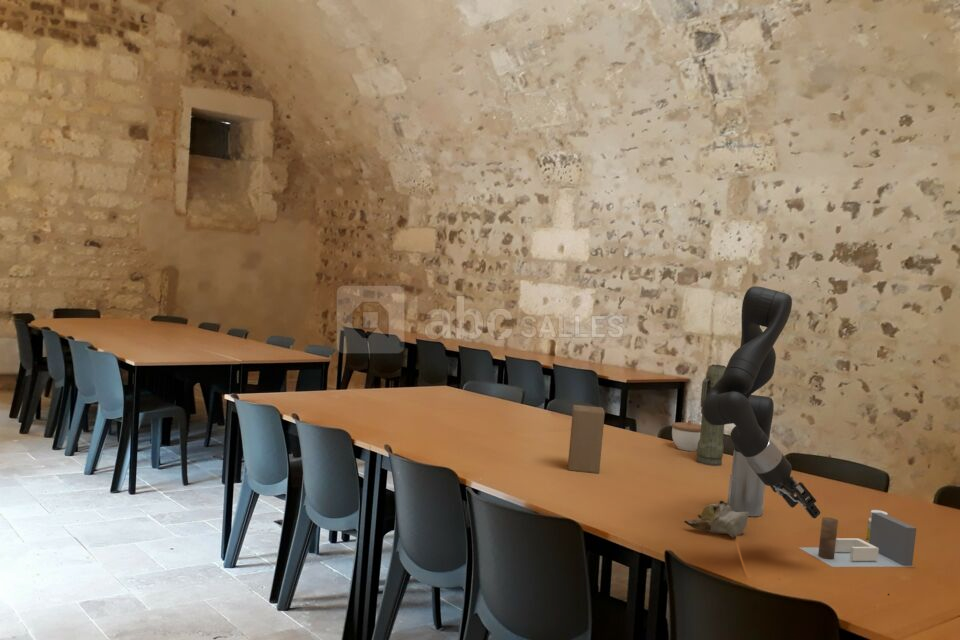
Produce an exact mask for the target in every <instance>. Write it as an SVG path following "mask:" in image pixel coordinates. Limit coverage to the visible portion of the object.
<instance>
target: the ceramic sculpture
mask: <svg viewBox="0 0 960 640" xmlns="http://www.w3.org/2000/svg"><path fill="white" fill-rule="evenodd" d="M701 511H702V512H701V514H697V517H698V518H694V519H691V520H683V523H684V524H686V525H688V526H689V527H691V528H693V529H695V530H697V531H707V532H710V533H711V534H718V535H721V534H728V535H729V536H730V537H731V538H732V539H737V537H736V536H740V535H743V532H744V530H745V529H746V528H747V525H748V521H749V520H748V519H749V516H748V515H749V513H748V512H734V511H733V510H732V509H731V507H730V506H729V505H728V502H725V501H722V500H720V501H719V503H718V504H715V503H712V504H709V505H707V506H705V507H704V508H703V509H702V510H701Z"/></svg>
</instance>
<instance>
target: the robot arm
mask: <svg viewBox="0 0 960 640" xmlns="http://www.w3.org/2000/svg"><path fill="white" fill-rule="evenodd" d="M741 305H742V306H741V339H740V345H739V347H738V348H737V349H736V350H735V351H734V352H733V353H732V355H731V356H730V358H729V360H728V363H727V364H726V366H725V367H726V369H725V371H724V374H723V376H722V377H721V379H720V380H719V381H718V382H717V383H716V384H715V385H714V387H713V388H712V389H711V390H710V392H709V393H708V394H707V396H706V398H705V400H704V403H703V416H704V418H705V420H706V421H707V422H708V423H710V424H712V425H717V426H718V425H724V426H726V425H731V424H733V425H734V427H733V428H732V429H731V431H730V434H729V437H730V440H731V442H732V444H733V456H732V466H731V474H730V476H729V484H728V485H729V486H728V496H727V504H728V505H729V506H730V507H731V509H732V510H733V511H734V512H748V513H749V515H748V517H761V516H762V515H763V509H764V499H765V498H764V497H765V490H766V489H765V488H766V486H769V487H770V489H771V490H772V492H773V493H777V495H778V496H780V497H782V499H783V500H784V501H785V502H786V503H787V505H788V506H789V507H791V508H792V509H793V508H795V507H796V506H797V505H798V504H799V505H801V506H802V507H803V508H804V510H805V511H806V512H807V514H808V515H809V516H810V517H811V518H812V519H816V518H817V517H818V516H820V514H821V511H820V509H819V508H818V507H817V505H816V504H815V503H816V502H817V499H816V498H815V497H814V495H813V494H812V493H811V492H810V491H809V490H808V489H807V487H806V486H805V484H804V483H803V482H800V481H799V482H798V481H797V479H795V478H794V477H793V476H791V474H792V470H793V469H792V468H793V466H792V464H791V463H790V461H788V459H787V458H786V457H785V455H784V453H782V452H781V450H780V449H779V447H778V446H777V445H776V444H775V443H774V442H773V441H772V440H771V439H770V438H771V437H770V436H771V430H772V423H773V418H774V417H773V416H774V410H775V409H774V406H775V405H774V401H773V399H772V397H770V396H763V395H757V394H754V393H755V392H756V391H758V390H759V389H761V388H762V387H764V386H765V385H766V384H768V382H770V380H771V379H772V378H773V376H774V374H775V367H776V361H777V355H776V351H775V349H774V345H775V344H776V342H777V340H778V338H779V337H780V335H781V333H782V332H783V330H784V329H785V327H786V325H787V323H788V320H789V318H790V315H791V311H792V307H793V297H792V296H791V295H790V294H788V293H786V292H782V291H779V290H775V289H770V288H767V287H763V286H756V285H754V286H751V287H749V288H747V290H746V292H745V294H744V295H743V299H742V304H741ZM761 327H764V328H765V329H764V330H762V328H761ZM795 495H796V496H795Z"/></svg>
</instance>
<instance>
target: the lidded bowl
mask: <svg viewBox="0 0 960 640" xmlns="http://www.w3.org/2000/svg"><path fill="white" fill-rule="evenodd" d="M671 424H672V425H671V428H672V429H671V437H672V441H673V443H674V445H675V447H676V448H677V449H678V450H681V451H687V452H697V447H698V442H699V440H700V432H701V424H697V423H694V422H693V423H692V420H689V419H688V420H687V422H673V423H671Z"/></svg>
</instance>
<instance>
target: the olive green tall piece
mask: <svg viewBox="0 0 960 640" xmlns="http://www.w3.org/2000/svg"><path fill="white" fill-rule="evenodd" d="M726 367H727V366H725V365H722V364H711V365H709V366H708V368H707V371H706V375H705V377H704V379H703V380H702V384H701V392H700V407H701V408H700V413H701V421H700V422H701V423H700V425H701V432H700V440H699V442H698V447H697V450H696V455H697V457H696V462H697V463H698V464H701V465H706V466H713V467H714V466H721V465H722V460H723V457H724V448H725V445H724V442H723V440H724V431H725V425H718V426H717V425H712V424H710V423H708V422H707V421H706V420H705V418H704V416H703V403H704V400H705V398H706V396H707V394H708V393H709V392H710V390H711V389H712V388H713V387H714V385H715V384H716V383H717V382H718V381H719V380H720V379H721V377H722V376H723V374H724V371H725V369H726Z"/></svg>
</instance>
